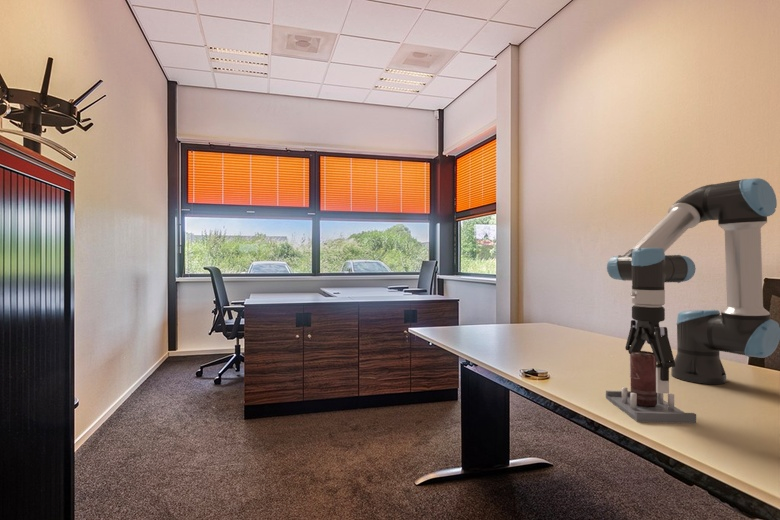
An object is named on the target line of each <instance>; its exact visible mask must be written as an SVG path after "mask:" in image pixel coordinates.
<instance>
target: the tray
mask: <svg viewBox="0 0 780 520" xmlns="http://www.w3.org/2000/svg"><path fill="white" fill-rule="evenodd" d="M605 399H606V400H608V401H609V402H610V403H612V404H613V405H614V406H616V407H617V408H618V409H620V410H621V411H622V412H623V413H624V414H626V415H628V416H629V417H630V418H631V419H632V420H634V421H635V422H637V423H640V422H641V423H673V424H674V423H675V424H677V423H678V424H697V413H695V412H684V411H683V410H681V409H680V408H678V407H676V406H675V394H673V393H667V401H666V400H664V393H657V405H656V406H655V407H641V406H637V394H636V393H631V390H628V387H624V386H623V387H621V390H605Z"/></svg>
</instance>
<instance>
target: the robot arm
mask: <svg viewBox="0 0 780 520" xmlns="http://www.w3.org/2000/svg"><path fill="white" fill-rule="evenodd" d="M777 204H778V202H777V196H776V193H775V190H774V189H773V187H772V185H771V184H770V183H769V182H768V181H767V180H765V179H764V178H759V177H758V178H757V177H755V178H743V179H738V180H731V181H727V182H726V181H725V182H719V183H715V184H713V183H712V184H706V185H703V186H700V187H697V188H695V189H694V190H692V191H690V192H688V193H686V194H684V195H682V197H681V198H679V199H678V200H676V201H675V202H674V203H673V204H672V205H671V206H670V207H669V208H668V210H667V214H666V215H665V216H664V217H663V218H662V219H661V220H659V221H658V223H656V225H655V226H653V227H652V228H651V229H650V230H649V231H648V232H647V233H646V234H645V235H644V236H643V237H641V239H640V240H638V241H637V243H635V244H634V245H633V246H632V247H631V248H629V250H628V251H626V253H625V254H624V255H620V254H619V255H614V256H613V255H612V256H611V257H610V258H609V259H608V261H607V263H606V272H607V273H608V275H609V277H610V278H611V279H613V280H620V281H624V282H626V281H627V282H629V281H631V293H630V297H631V303H632V304H634V305H632V306H631V319H632V320H630V329H629V332H628V337H627V340H626V344H625V351H627V352H628V354H629V356H630V355H631V353H632V351H642V350H643V347H644V345H645V343H647V344H649V345H650V347H651V350H652V351H651V352H652V353H654V356H655V359H656V361H657V365H656V366H655V367H656V393H663V394H670V374H671V376H672V377H674V378H675V379H678V380H682V381H686V382H691V383H696V384H705V385H706V384H707V385H722V384H723V385H724V384H726V383H727V374H726V371H725V368H724V365H723V363H722V361H721V358H720V352H723V353H728V354H729V353H730V354H736V355H741V356H745V357H749V358H751V357H753V358H761V359H762V358H763V359H764V358H765V359H766V358H767V357H769V356H771V355H773V353H774V352H775V351H776V349H777V348H778V345H779V343H780V324H779V323H778V321H776V320H774V319H771V312H770V311H768V310H767V309H765V307H764V293H763V292H764V291H763V262H762V259H763V258H762V233H761V231H762V228H763V227H764V226H765V225H766V224H767V223H768V217H770V216H773V215H774V214H775V212H776V209H777V206H778V205H777ZM707 221H717V224H718V227H720V228H721V229H723V231H724V253H725V254H724V255H725V256H724V258H725V282H726V283H725V285H726V306H725V307H724V308H723V309H721V311H720V310H718V309H697V310H696V309H695V310H682V311H679V313H678V314H677V316H676V317H677V319H676V332H677V333H676V337H677V338H676V340H677V341H676V344H677V345H676V347H677V348H676V349H677V351H676V355H675V358H674V354H673V351H672V347H671V343H670V340H669V334H668V328H667V327H666V326H660V323H661V322H664V321H665V320H666V316H665V315H666V313H665V312H666V309H665V307H664V305H665V303H666V295H665V294H666V291H665V289H666V288H665V284H666V283H678V284H679V283H682V282H683V283H684V282H687V281H690V280H691V279H692V278H693V277H694V276H695V273H696V264H695V262H694V260H692V258H690V257H688V256H686V255H680V254H671V255H670V254H668V255H665V253H666V251H667V250H668V249H669V248H670V247H672V245H673V244H675V242H676V241H677V240H678V239H679V238H680V237H681V236H683V234H684V233H686V232H687V231H688V230H689V229H693V228H694V227H696V226H698V225H699V224H700V223H703V222H707ZM670 369H671V370H670ZM670 371H671V372H670ZM629 378H630V379H631V372H630V371H629Z"/></svg>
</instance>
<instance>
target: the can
mask: <svg viewBox="0 0 780 520" xmlns="http://www.w3.org/2000/svg"><path fill="white" fill-rule="evenodd" d="M656 365H657V361H656V359H655V356H654V353H653V351H646V350H641V351H632V353H631V355H630V354H629V373H630V372H631V378H630V391H631V393H636V394H637V406H641V407H655V406H656V405H657V393H656V367H655V366H656Z"/></svg>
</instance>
